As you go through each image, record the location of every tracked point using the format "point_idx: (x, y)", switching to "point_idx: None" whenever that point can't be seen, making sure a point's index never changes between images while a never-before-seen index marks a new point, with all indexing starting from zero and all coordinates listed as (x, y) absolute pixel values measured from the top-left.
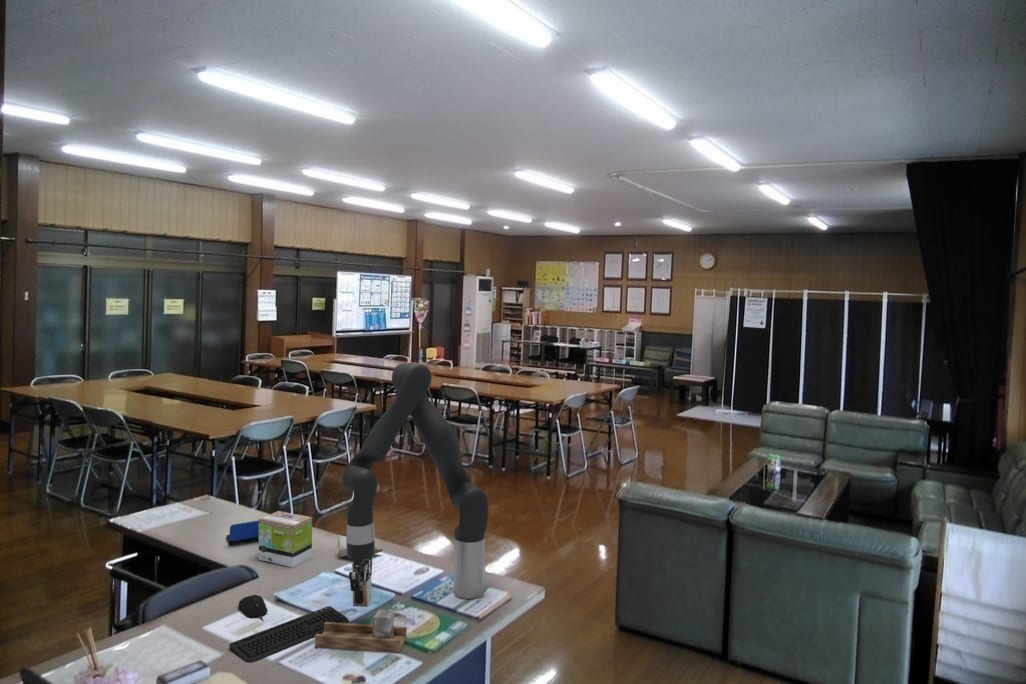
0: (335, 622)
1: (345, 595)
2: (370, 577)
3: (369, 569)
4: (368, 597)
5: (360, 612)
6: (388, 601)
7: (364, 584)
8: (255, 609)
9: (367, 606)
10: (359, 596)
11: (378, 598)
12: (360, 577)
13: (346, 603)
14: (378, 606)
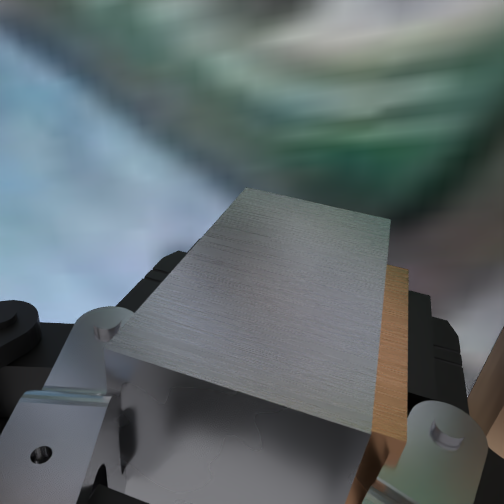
0: (501, 411)
1: (35, 305)
2: (147, 351)
3: (32, 484)
4: (337, 245)
5: (208, 223)
6: (41, 48)
7: (401, 440)
8: None
9: (388, 219)
10: (460, 383)
11: (21, 126)
12: (176, 480)
13: (112, 299)
14: (119, 113)
